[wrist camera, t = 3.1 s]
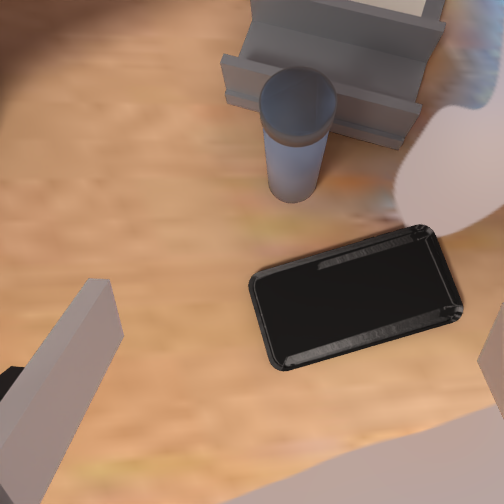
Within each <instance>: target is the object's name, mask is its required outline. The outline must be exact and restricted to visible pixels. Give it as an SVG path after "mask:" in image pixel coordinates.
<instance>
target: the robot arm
mask: <svg viewBox="0 0 504 504" xmlns="http://www.w3.org/2000/svg"><path fill="white" fill-rule="evenodd" d="M123 337H124V334H123V330H122V326H121V322H120V318H119V314H118V310H117V306H116V302H115V299H114V295H113V291H112V287H111V283H110V280H109V279H92V278H89V279H88V280H87V281H86V283H85V284H84V286H83V287H82V288H81V290H80V291H79V293H78V294H77V295H76V297H75V298H74V300H73V301H72V302H71V304H70V305H69V307H68V308H67V309H66V311H65V312H64V313H63V315H62V316H61V318H60V319H59V320H58V322H57V323H56V325H55V326H54V327H53V329H52V330H51V332H50V333H49V334H48V336H47V337H46V339H45V340H44V341H43V343H42V344H41V346H40V347H39V348H38V350H37V351H36V353H35V354H34V355H33V357H32V358H31V360H30V361H29V362H28V364H27V365H26V367H15V366H11V367H10V368H8V369H7V370H6V371H4V372H3V373H2V374H1V375H0V504H40V503H41V501H42V499H43V497H44V495H45V493H46V491H47V489H48V487H49V485H50V483H51V481H52V479H53V477H54V475H55V473H56V471H57V469H58V467H59V465H60V463H61V461H62V459H63V457H64V455H65V453H66V451H67V449H68V447H69V445H70V443H71V441H72V439H73V437H74V435H75V433H76V431H77V429H78V427H79V425H80V423H81V421H82V419H83V417H84V415H85V413H86V411H87V409H88V407H89V405H90V403H91V401H92V399H93V397H94V395H95V393H96V391H97V389H98V387H99V385H100V383H101V381H102V379H103V377H104V375H105V373H106V371H107V369H108V367H109V365H110V363H111V361H112V359H113V357H114V355H115V353H116V351H117V349H118V347H119V345H120V343H121V341H122V339H123ZM477 362H478V364H479V366H480V369H481V371H482V373H483V375H484V377H485V380H486V382H487V384H488V386H489V388H490V390H491V393H492V395H493V397H494V399H495V401H496V404H497V406H498V408H499V410H500V412H501V415H502V417H503V419H504V303H502V305H501V308H500V310H499V312H498V315H497V317H496V319H495V321H494V324H493V326H492V328H491V330H490V333H489V335H488V337H487V339H486V342H485V344H484V346H483V349H482V351H481V353H480V355H479V358H478V360H477Z"/></svg>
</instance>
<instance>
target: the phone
mask: <svg viewBox="0 0 504 504" xmlns="http://www.w3.org/2000/svg"><path fill="white" fill-rule="evenodd" d="M248 287H249V292H250V296H251V299H252V303H253V306H254V310H255V313H256V317H257V320H258V324H259V327H260V330H261V334H262V337H263V341H264V344H265V348H266V351H267V355H268V358H269V361H270V363H271V365H272V366H273V367H274V368H275V369H277V370H279V371H290V370H293V369H296V368H300V367H303V366H307V365H310V364H313V363H317V362H320V361H324V360H327V359H330V358H334V357H337V356H341V355H344V354H348V353H351V352H354V351H358V350H361V349H365V348H368V347H371V346H375V345H378V344H382V343H385V342H388V341H392V340H395V339H399V338H402V337H405V336H409V335H412V334H416V333H419V332H423V331H426V330H429V329H433V328H436V327H440V326H443V325H446V324H450V323H453V322H455V321H457V320H458V319H459V318H460V317H461V316H462V313H463V304H462V301H461V298H460V296H459V293H458V291H457V288H456V286H455V283H454V281H453V278H452V275H451V273H450V270H449V268H448V265H447V263H446V260H445V258H444V255H443V253H442V250H441V247H440V245H439V242H438V240H437V237H436V235H435V233H434V231H433V230H432V229H431V228H430V227H428V226H426V225H420V224H419V225H414V226H411V227H407V228H404V229H400V230H396V231H394V232H390V233H385V234H382V235H379V236H377V237H371V238H368V239H364V240H363V241H360V242H357V243H354V244H350V245H347V246H343V247H340V248H337V249H333V250H330V251H327V252H323V253H320V254H317V255H313V256H310V257H307V258H303V259H300V260H296V261H293V262H290V263H286V264H283V265H280V266H276V267H273V268H270V269H266V270H263V271H260V272H257V273H255V274H254V275H253V276H252V277H251V279H250V280H249V285H248Z"/></svg>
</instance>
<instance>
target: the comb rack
mask: <svg viewBox="0 0 504 504" xmlns="http://www.w3.org/2000/svg"><path fill="white" fill-rule="evenodd" d="M250 1H251V12H252V22H251V25H250V28H249V30H248V33H247V36H246V38H245V41H244V44H243V46H242V49H241V52H240V54H239V57H235V56H231V55H227V54H223V57H222V59H221V62H220V64H221V68H222V73H223V77H224V81H225V86H226V92H225V97H226V101H227V104H231V105H235V106H238V107H242V108H246V109H249V110H253V111H257V112H260V110H259V96H260V93H261V90H262V88H263V86H264V84H265V83H266V81H267V80H268V79H269V78H270V77H271V76H272V75H274V74H275V73H276V72H278V71H280V70H282V69H285V68H288V67H293V66H305V67H310V68H313V69H316V70H318V71H320V72H321V73H323V74H324V75H325V76H327V78H328V79H329V80H330V81H331V82H332V84H333V86H334V88H335V90H336V94H337V108H336V112H335V116H334V120H333V124H332V126H331V128H330V130H329V131H330V132H334V133H337V134H341V135H345V136H348V137H352V138H356V139H359V140H363V141H367V142H370V143H374V144H378V145H381V146H385V147H389V148H392V149H396V150H399V148H400V147H401V145H402V144H403V142H404V139H405V136H406V135H407V133H408V132H409V130H410V129H411V127H412V126H413V124H414V123H415V121H416V120H417V118H418V117H419V115H420V112H421V108H422V104H418V103H415V101H416V98H417V94H418V91H419V87H420V84H421V81H422V77H423V74H424V70H425V67H426V64H427V61H428V59H429V58H430V56H431V54H432V52H433V50H434V49H435V47H436V45H437V43H438V41H439V40H440V38H441V36H442V34H443V32H444V29H445V26H446V22H441V21H439V19H440V16H441V12H442V9H443V5H444V2H445V0H250Z"/></svg>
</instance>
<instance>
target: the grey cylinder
mask: <svg viewBox="0 0 504 504" xmlns="http://www.w3.org/2000/svg"><path fill="white" fill-rule="evenodd" d="M336 108H337V94H336V90H335V88H334V86H333V84H332V82H331V81H330V80H329V79H328V78H327V76H325V75H324V74H323V73H321V72H320V71H318V70H316V69H313V68H310V67H305V66H293V67H288V68H285V69H282V70H280V71H278V72H276V73H275V74H274V75H272V76H271V77H270V78H269V79H268V80H267V81H266V83H265V84H264V86H263V88H262V90H261V93H260V96H259V110H260V119H261V123H262V126H263V133H264V143H265V153H266V163H267V174H268V183H269V188H270V190H271V192H272V193H273V195H274V196H275V197H276V198H278V199H279V200H281V201H283V202H286V203H298V202H302V201H304V200H306V199H307V198H308V197H310V196H311V194H312V193H313V192H314V190H315V187H316V184H317V180H318V175H319V171H320V167H321V163H322V159H323V155H324V150H325V146H326V142H327V138H328V134H329V130H330V128H331V126H332V124H333V120H334V116H335V112H336Z"/></svg>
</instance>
